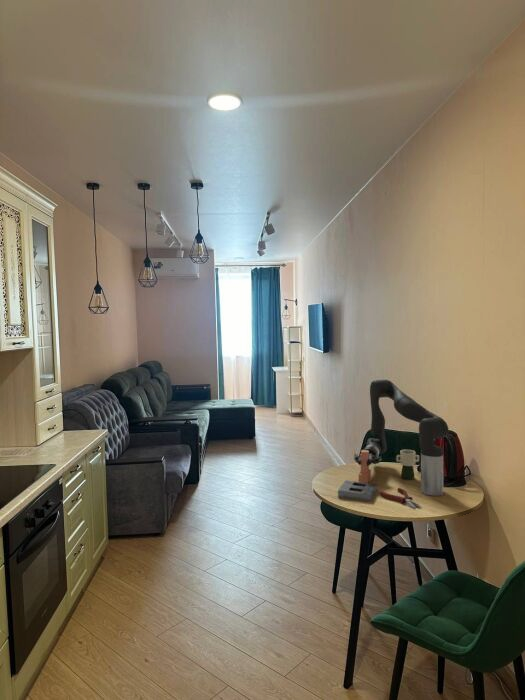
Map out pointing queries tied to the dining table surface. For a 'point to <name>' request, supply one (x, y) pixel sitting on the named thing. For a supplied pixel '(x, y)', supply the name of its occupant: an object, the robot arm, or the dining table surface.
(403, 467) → the character mug
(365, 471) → the pink tall block
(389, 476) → the dining table surface
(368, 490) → the grey socket board
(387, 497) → the pliers
